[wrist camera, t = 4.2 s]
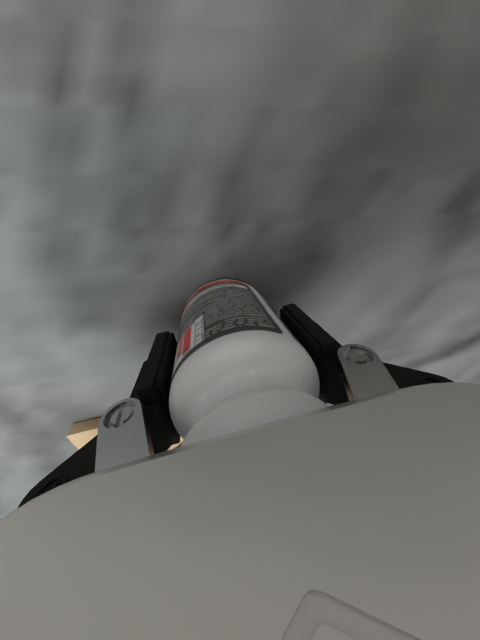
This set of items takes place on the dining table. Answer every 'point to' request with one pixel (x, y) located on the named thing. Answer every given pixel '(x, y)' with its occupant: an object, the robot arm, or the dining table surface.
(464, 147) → the dining table surface
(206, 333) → the pill bottle
